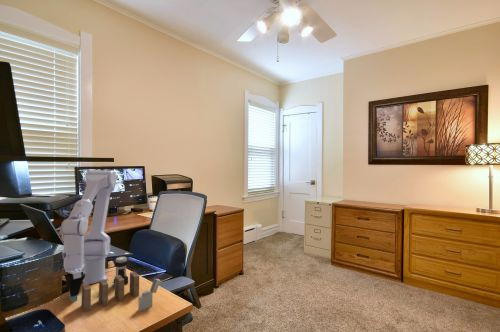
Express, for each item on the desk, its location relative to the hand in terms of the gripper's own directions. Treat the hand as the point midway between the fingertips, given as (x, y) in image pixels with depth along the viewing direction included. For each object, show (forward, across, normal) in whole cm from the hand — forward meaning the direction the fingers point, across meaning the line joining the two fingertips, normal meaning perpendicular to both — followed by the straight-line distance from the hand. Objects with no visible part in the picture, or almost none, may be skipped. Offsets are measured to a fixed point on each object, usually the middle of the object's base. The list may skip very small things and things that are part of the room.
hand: (73, 292), depth 91 cm
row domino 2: (+2, +10, +7) cm, 12 cm away
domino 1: (+2, 0, 0) cm, 2 cm away
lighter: (+2, +22, +18) cm, 28 cm away
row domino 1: (+2, +10, +2) cm, 10 cm away
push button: (+2, -1, +15) cm, 15 cm away
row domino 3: (+2, +10, +12) cm, 16 cm away
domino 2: (+2, +10, +17) cm, 20 cm away
